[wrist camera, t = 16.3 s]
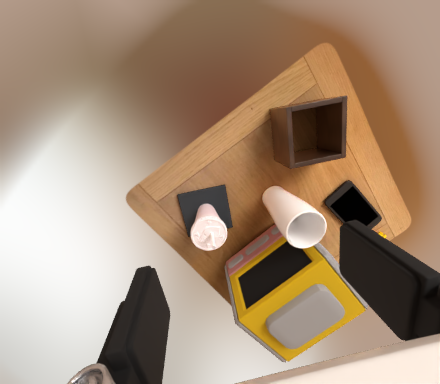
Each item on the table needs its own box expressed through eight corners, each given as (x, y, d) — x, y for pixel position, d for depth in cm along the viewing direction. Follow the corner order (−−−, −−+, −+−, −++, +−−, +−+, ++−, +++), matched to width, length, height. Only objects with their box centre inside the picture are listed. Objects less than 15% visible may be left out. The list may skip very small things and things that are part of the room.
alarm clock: (285, 207, 49) (336, 258, 31) (320, 250, 54) (380, 314, 37) (219, 259, 51) (231, 332, 34) (258, 295, 56) (286, 375, 39)
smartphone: (357, 238, 54) (359, 240, 53) (321, 201, 49) (324, 203, 48) (381, 217, 52) (384, 219, 52) (347, 177, 48) (350, 178, 47)
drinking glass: (294, 196, 48) (335, 230, 34) (270, 216, 49) (300, 256, 35) (276, 175, 46) (312, 201, 32) (251, 196, 47) (276, 230, 33)
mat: (177, 194, 45) (177, 195, 44) (224, 184, 45) (225, 185, 45) (188, 235, 48) (188, 236, 48) (232, 226, 49) (232, 227, 48)
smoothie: (227, 213, 47) (239, 250, 34) (204, 230, 48) (208, 274, 35) (208, 191, 45) (214, 223, 32) (184, 210, 46) (180, 248, 33)
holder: (269, 108, 41) (286, 107, 34) (319, 99, 42) (347, 95, 34) (274, 160, 45) (290, 168, 37) (320, 150, 45) (345, 157, 38)
